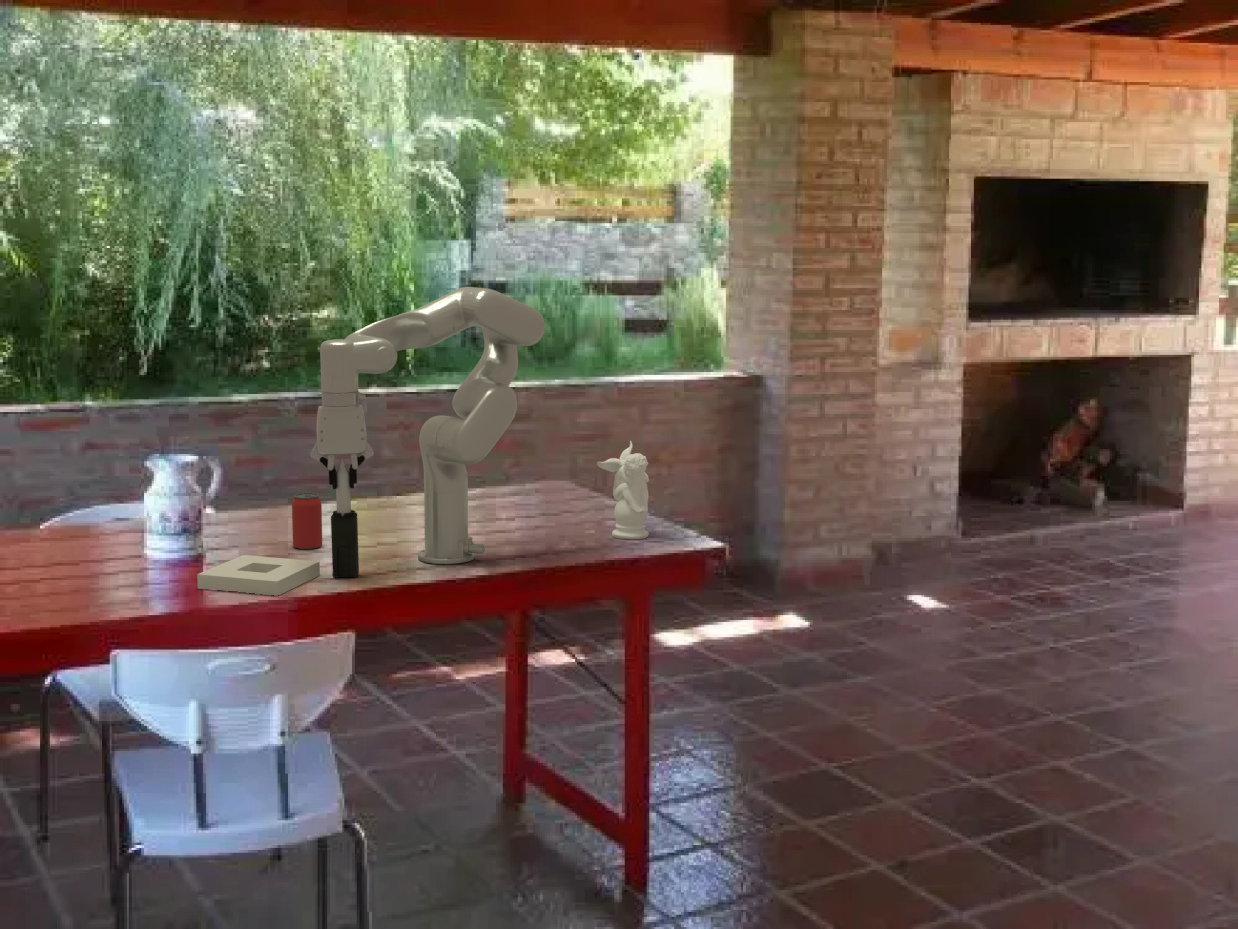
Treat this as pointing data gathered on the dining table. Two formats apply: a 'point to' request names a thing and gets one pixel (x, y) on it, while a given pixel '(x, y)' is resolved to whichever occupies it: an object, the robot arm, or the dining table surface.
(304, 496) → the beer can
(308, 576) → the candle base
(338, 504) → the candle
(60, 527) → the dining table surface
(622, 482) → the cherub figurine
